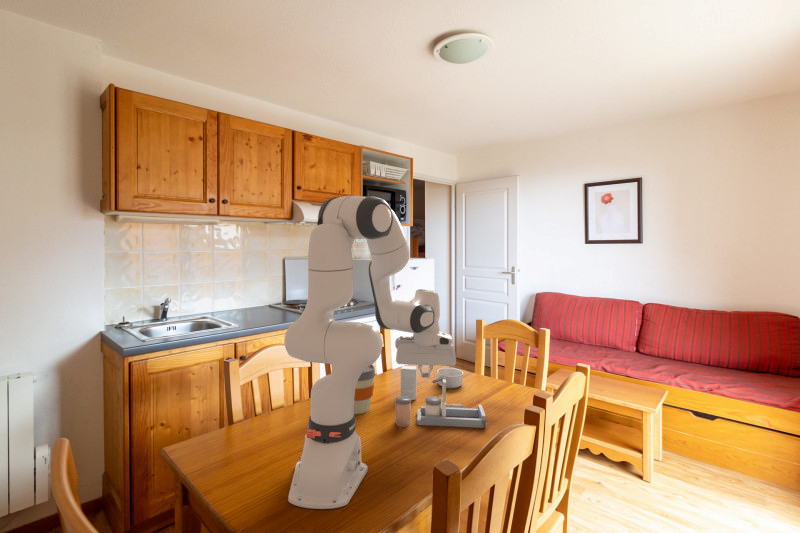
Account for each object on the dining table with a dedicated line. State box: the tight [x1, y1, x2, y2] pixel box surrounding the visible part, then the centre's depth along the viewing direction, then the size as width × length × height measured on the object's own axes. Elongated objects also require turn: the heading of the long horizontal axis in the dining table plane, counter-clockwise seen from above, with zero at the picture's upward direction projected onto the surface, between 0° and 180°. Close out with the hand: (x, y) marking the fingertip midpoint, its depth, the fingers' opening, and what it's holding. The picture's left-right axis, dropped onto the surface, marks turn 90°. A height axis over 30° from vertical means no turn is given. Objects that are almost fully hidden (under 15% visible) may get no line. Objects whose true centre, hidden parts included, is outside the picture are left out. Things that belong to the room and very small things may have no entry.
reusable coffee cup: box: [354, 364, 376, 415], centre depth 137 cm, size 13×12×15 cm
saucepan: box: [432, 367, 464, 389], centre depth 160 cm, size 12×20×6 cm, turn 146°
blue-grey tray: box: [416, 404, 487, 429], centre depth 129 cm, size 9×22×4 cm, turn 86°
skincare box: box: [400, 365, 418, 401], centre depth 148 cm, size 6×4×12 cm
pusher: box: [440, 379, 464, 417], centre depth 129 cm, size 6×7×13 cm
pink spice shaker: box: [394, 395, 412, 428], centre depth 126 cm, size 5×5×8 cm
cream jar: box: [424, 395, 442, 417], centre depth 130 cm, size 5×5×7 cm
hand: (425, 377), depth 130 cm, fingers closed
